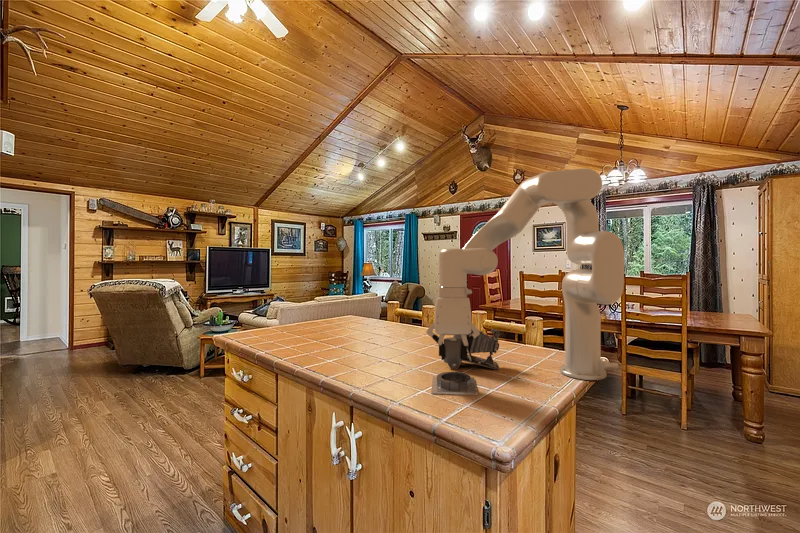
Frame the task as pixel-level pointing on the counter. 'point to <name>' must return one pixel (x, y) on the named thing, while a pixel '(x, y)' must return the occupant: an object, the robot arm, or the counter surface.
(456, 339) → the dark grey cylinder
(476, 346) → the camera
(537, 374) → the counter surface
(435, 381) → the mount
